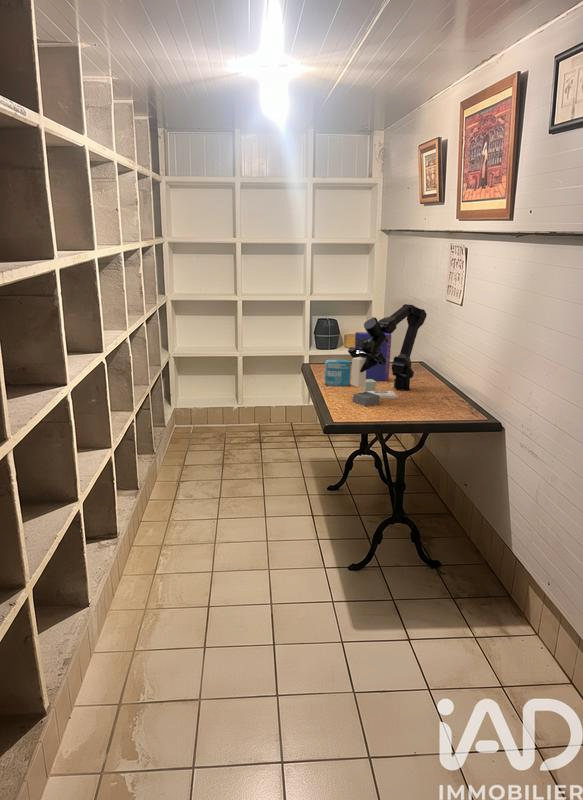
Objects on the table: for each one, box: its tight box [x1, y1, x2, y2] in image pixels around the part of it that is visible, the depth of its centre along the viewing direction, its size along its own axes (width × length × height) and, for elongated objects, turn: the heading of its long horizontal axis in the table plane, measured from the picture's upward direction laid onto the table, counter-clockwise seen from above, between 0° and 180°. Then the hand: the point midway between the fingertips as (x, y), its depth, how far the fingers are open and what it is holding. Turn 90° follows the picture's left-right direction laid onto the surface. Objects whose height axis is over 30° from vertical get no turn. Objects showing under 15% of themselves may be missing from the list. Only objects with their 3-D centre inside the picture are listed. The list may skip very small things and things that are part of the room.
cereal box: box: [354, 331, 392, 382], centre depth 304 cm, size 17×5×24 cm, turn 88°
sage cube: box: [361, 379, 377, 392], centre depth 285 cm, size 5×5×5 cm
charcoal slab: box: [352, 391, 380, 407], centre depth 263 cm, size 8×8×4 cm
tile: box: [367, 390, 398, 399], centre depth 276 cm, size 12×9×1 cm
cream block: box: [350, 357, 366, 388], centre depth 264 cm, size 4×4×12 cm
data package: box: [324, 359, 352, 387], centre depth 294 cm, size 12×4×12 cm, turn 93°
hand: (356, 370), depth 263 cm, fingers closed on cream block, 4 cm apart
